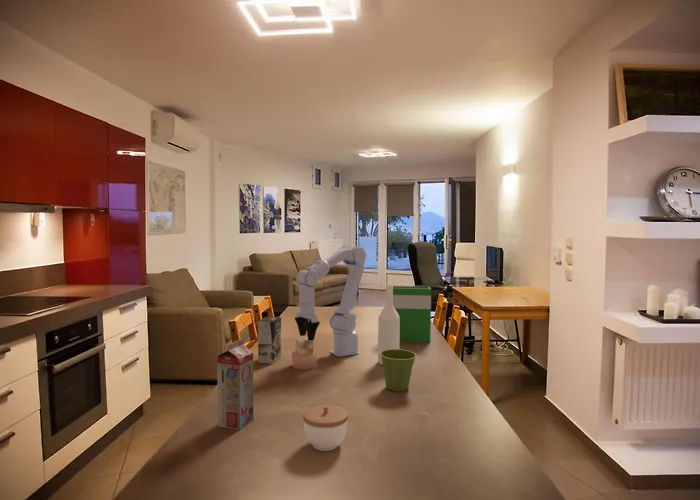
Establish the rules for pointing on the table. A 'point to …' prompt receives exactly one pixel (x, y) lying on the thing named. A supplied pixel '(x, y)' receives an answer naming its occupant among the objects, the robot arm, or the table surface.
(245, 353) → the juice carton
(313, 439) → the lidded jar
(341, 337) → the robot arm
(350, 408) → the table surface
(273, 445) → the table surface
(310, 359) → the salmon pink cylinder
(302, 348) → the maple cube
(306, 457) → the table surface
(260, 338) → the coffee box
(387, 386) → the plant pot
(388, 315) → the bottle
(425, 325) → the hardback book
